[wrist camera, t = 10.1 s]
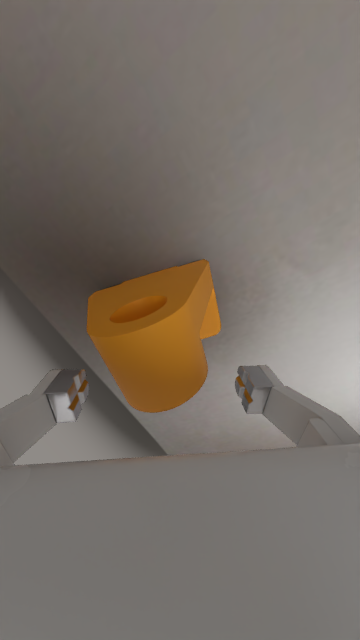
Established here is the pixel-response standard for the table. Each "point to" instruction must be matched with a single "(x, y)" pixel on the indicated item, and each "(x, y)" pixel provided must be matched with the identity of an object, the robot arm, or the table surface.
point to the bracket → (156, 334)
